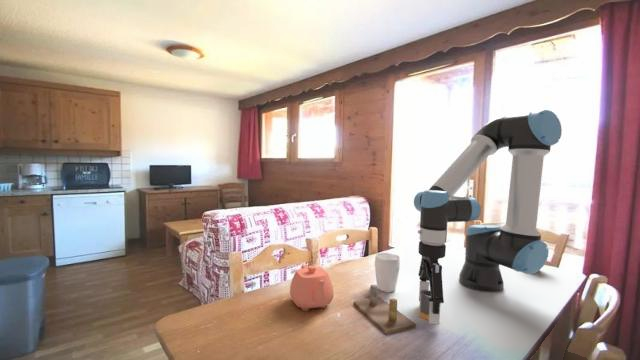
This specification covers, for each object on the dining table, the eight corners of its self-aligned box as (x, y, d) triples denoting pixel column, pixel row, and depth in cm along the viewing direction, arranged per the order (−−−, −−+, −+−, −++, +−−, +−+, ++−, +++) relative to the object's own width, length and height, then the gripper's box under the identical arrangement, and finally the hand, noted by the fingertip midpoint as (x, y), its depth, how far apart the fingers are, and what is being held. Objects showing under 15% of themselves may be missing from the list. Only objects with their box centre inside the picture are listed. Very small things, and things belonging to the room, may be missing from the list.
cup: (399, 295, 104) (401, 261, 103) (373, 292, 106) (374, 259, 105) (398, 284, 113) (399, 253, 112) (374, 282, 114) (375, 251, 114)
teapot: (301, 324, 84) (302, 282, 83) (284, 294, 102) (284, 259, 102) (344, 316, 89) (345, 276, 88) (320, 289, 107) (321, 256, 106)
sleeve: (435, 312, 92) (436, 290, 92) (440, 321, 87) (441, 298, 87) (418, 311, 93) (419, 289, 92) (421, 319, 88) (422, 296, 87)
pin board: (353, 304, 96) (353, 283, 96) (379, 299, 100) (380, 279, 100) (386, 334, 80) (387, 309, 79) (415, 327, 83) (416, 303, 83)
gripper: (411, 232, 101) (408, 292, 103) (429, 253, 77) (424, 333, 78) (434, 233, 100) (431, 294, 102) (459, 255, 76) (454, 336, 77)
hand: (428, 311), depth 90 cm, fingers open, 13 cm apart
